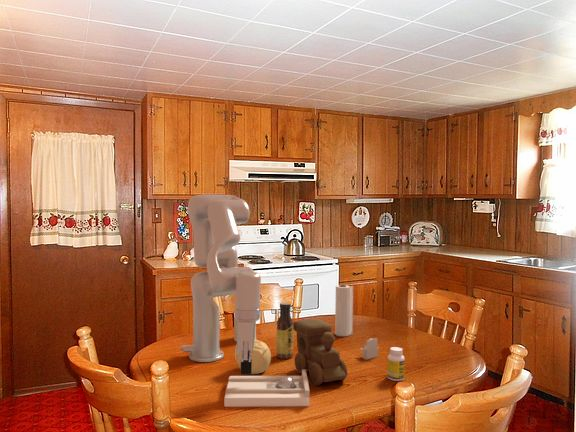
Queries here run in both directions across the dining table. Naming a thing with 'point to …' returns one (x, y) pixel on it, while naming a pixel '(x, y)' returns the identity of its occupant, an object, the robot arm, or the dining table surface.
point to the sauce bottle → (284, 332)
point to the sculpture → (257, 357)
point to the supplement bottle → (395, 364)
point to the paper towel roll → (344, 310)
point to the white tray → (266, 391)
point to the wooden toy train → (318, 352)
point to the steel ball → (286, 383)
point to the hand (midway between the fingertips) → (246, 373)
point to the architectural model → (370, 348)
